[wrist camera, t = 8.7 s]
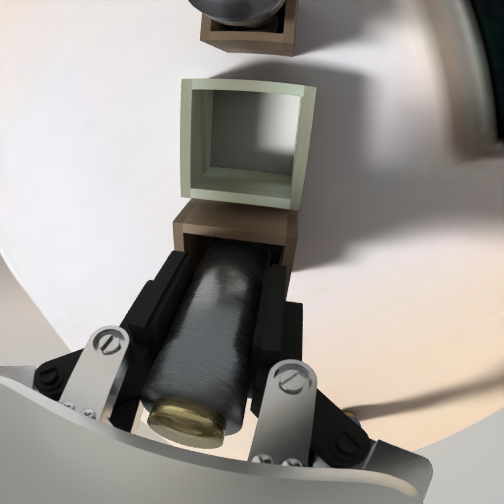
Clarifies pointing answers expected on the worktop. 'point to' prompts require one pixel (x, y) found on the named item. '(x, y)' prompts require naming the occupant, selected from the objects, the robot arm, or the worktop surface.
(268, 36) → the compartment holder
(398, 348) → the worktop surface
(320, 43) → the worktop surface
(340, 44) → the worktop surface
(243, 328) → the gray yellow-capped cylinder
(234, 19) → the round dark gray knob
